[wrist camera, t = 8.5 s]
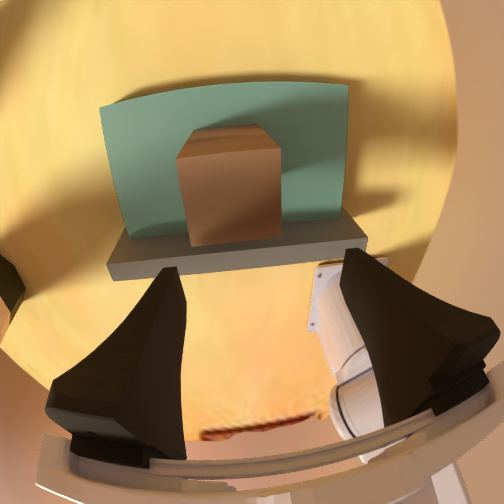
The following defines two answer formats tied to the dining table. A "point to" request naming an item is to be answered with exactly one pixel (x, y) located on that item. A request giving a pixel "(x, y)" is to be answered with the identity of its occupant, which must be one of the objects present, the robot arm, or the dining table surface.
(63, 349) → the dining table surface
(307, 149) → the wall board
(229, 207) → the walnut block
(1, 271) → the wine bottle
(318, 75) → the dining table surface
